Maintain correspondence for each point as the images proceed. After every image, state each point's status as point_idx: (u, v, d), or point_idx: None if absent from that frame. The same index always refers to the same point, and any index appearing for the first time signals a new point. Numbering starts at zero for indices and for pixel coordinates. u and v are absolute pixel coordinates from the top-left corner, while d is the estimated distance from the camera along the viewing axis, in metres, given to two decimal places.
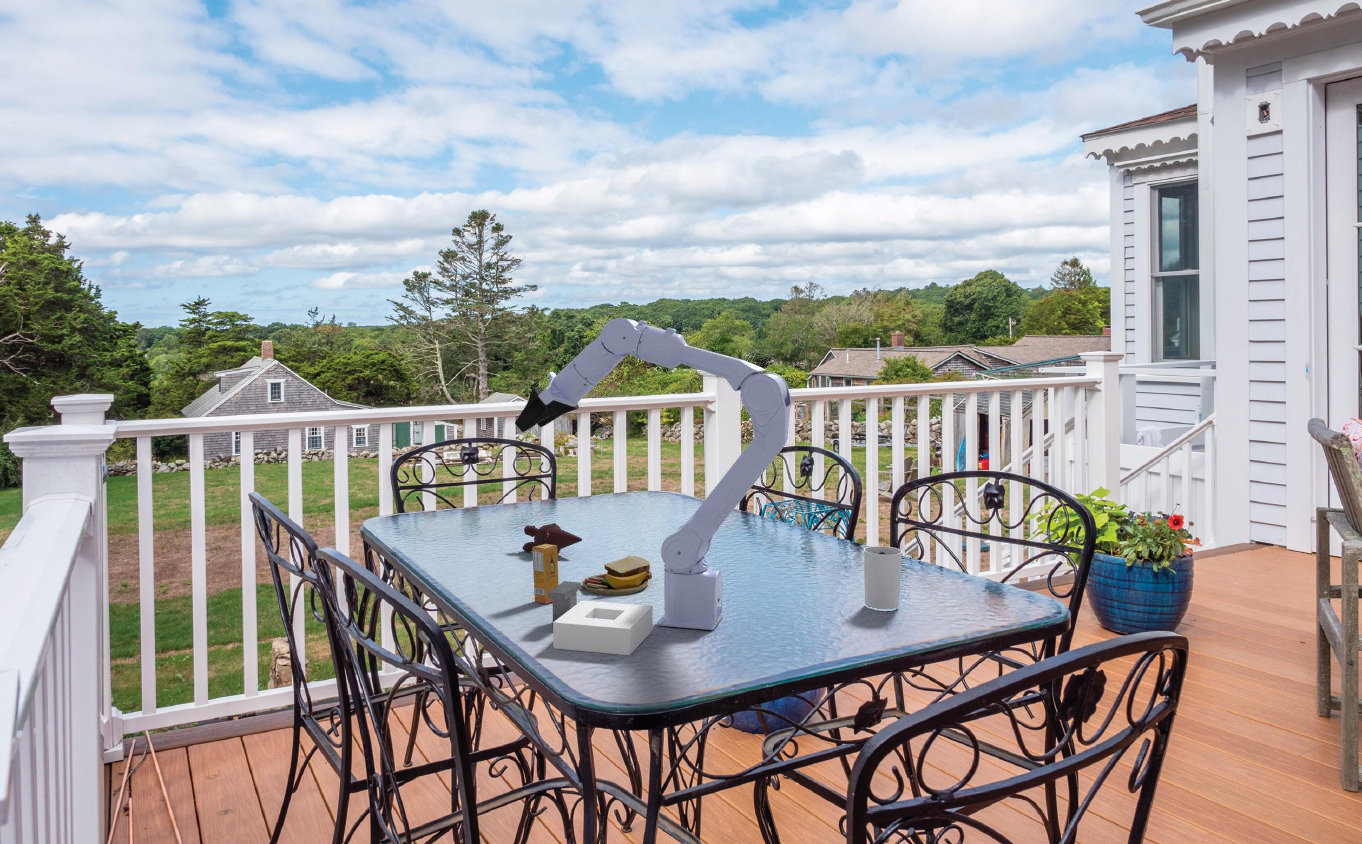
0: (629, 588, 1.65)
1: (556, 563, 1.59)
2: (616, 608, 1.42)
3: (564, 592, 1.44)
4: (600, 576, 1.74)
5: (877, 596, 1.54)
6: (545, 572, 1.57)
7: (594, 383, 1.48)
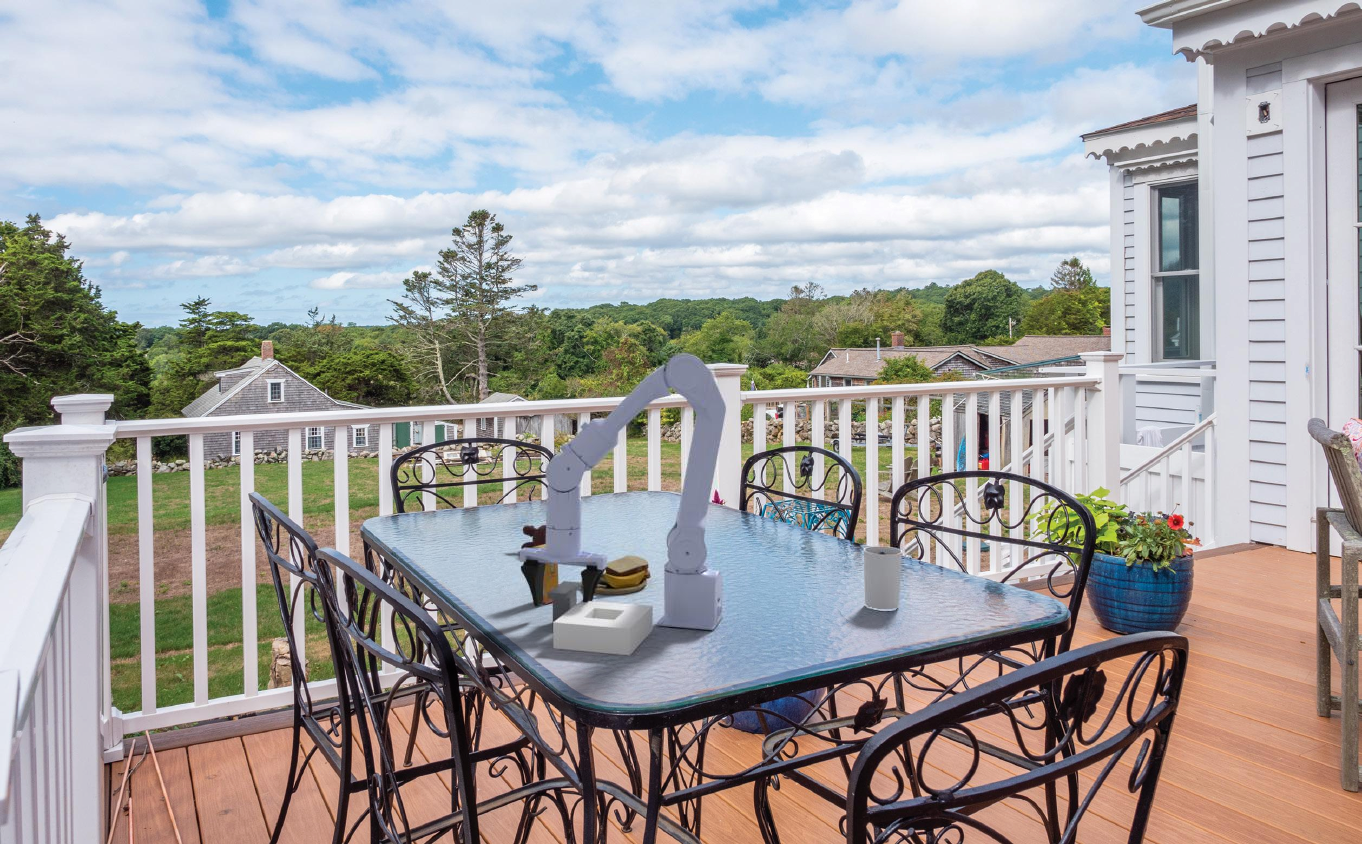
0: (628, 587, 1.65)
1: None
2: (616, 608, 1.42)
3: (564, 592, 1.44)
4: None
5: (877, 597, 1.54)
6: (545, 572, 1.57)
7: (579, 525, 1.45)
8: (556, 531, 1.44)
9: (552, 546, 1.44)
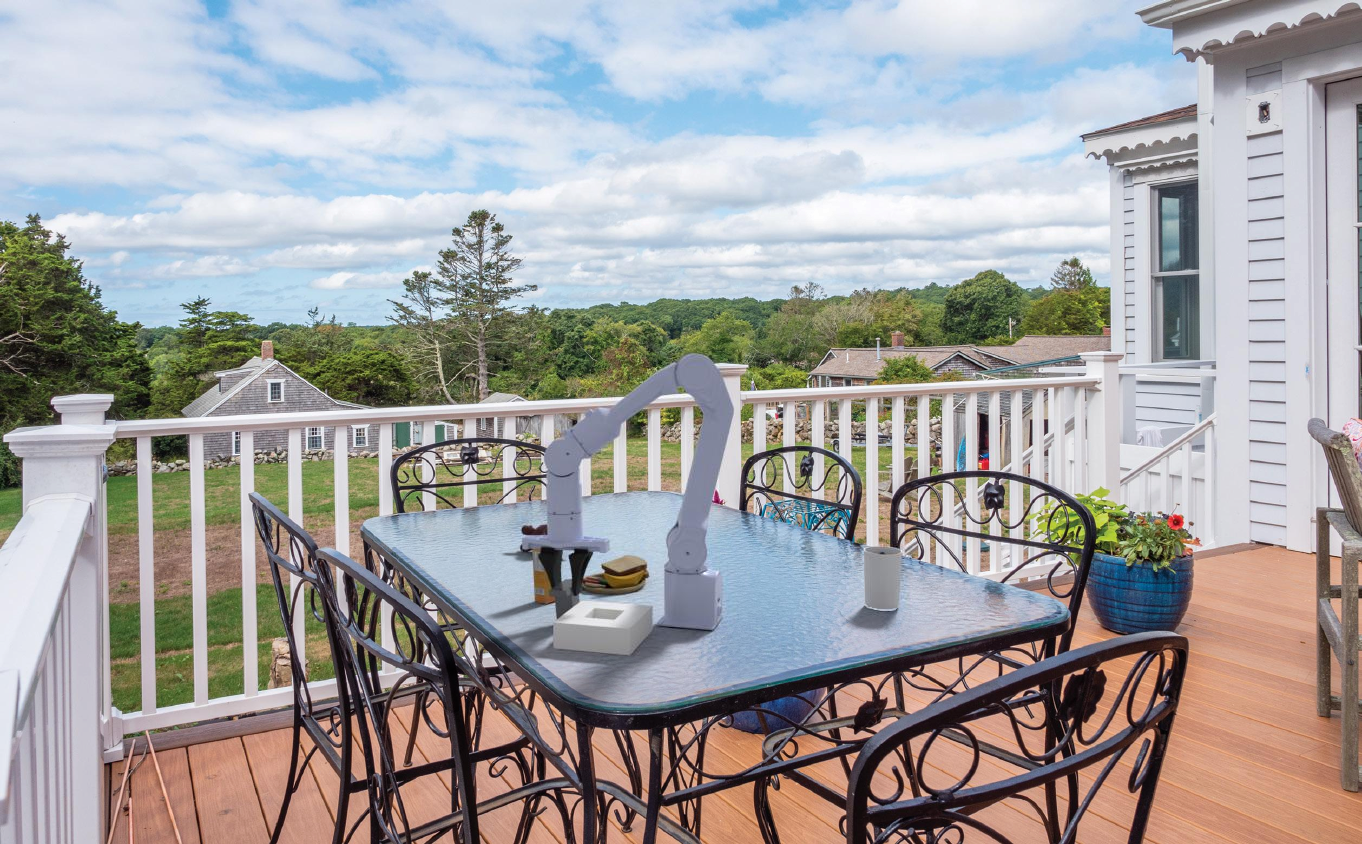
0: (627, 587, 1.65)
1: None
2: (616, 608, 1.42)
3: (565, 589, 1.43)
4: (597, 576, 1.74)
5: (877, 596, 1.54)
6: (545, 572, 1.57)
7: (580, 509, 1.45)
8: (557, 516, 1.43)
9: (553, 532, 1.44)
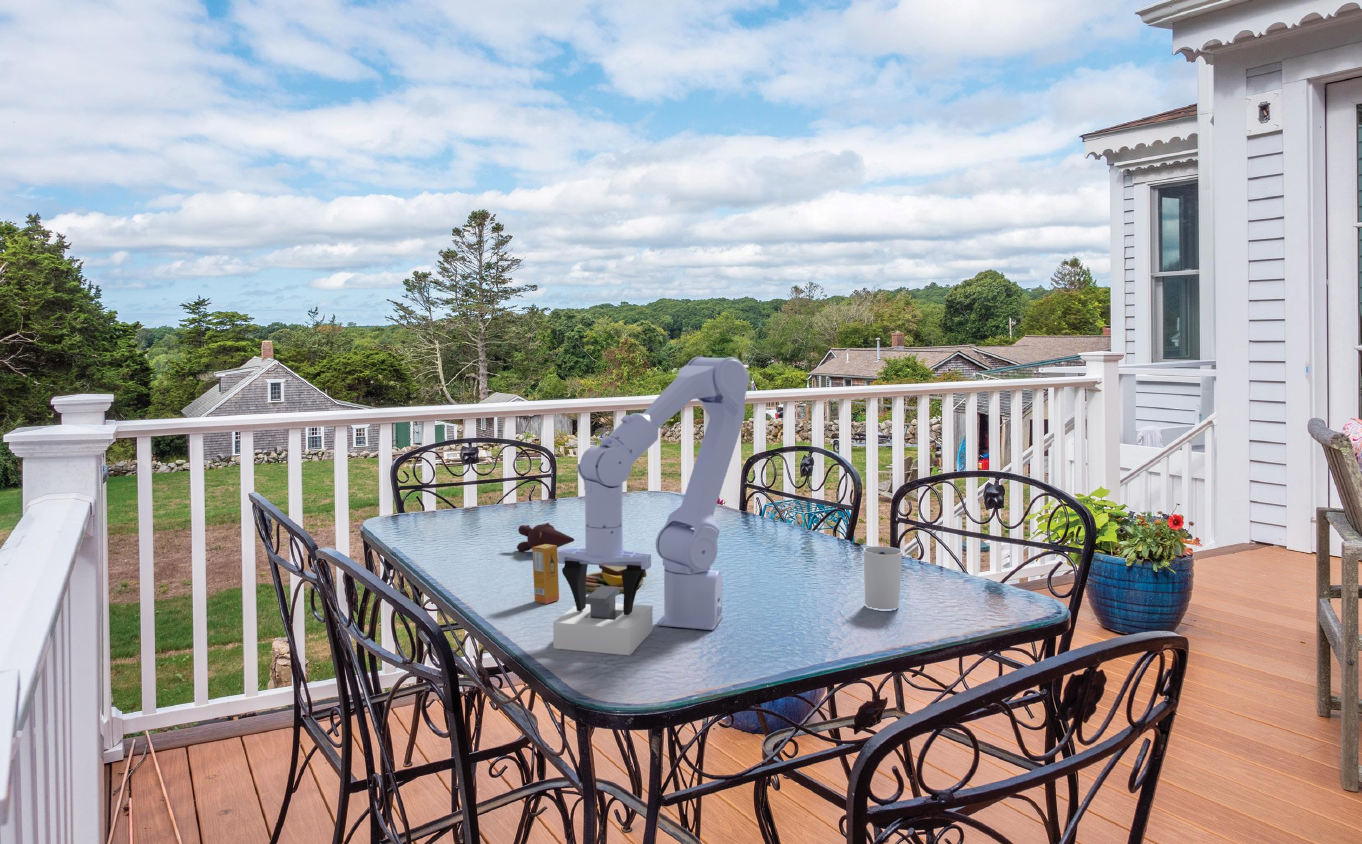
0: None
1: (556, 563, 1.59)
2: (616, 608, 1.42)
3: (603, 597, 1.35)
4: (594, 575, 1.75)
5: (877, 596, 1.54)
6: (545, 572, 1.57)
7: None
8: (597, 530, 1.35)
9: (592, 546, 1.35)
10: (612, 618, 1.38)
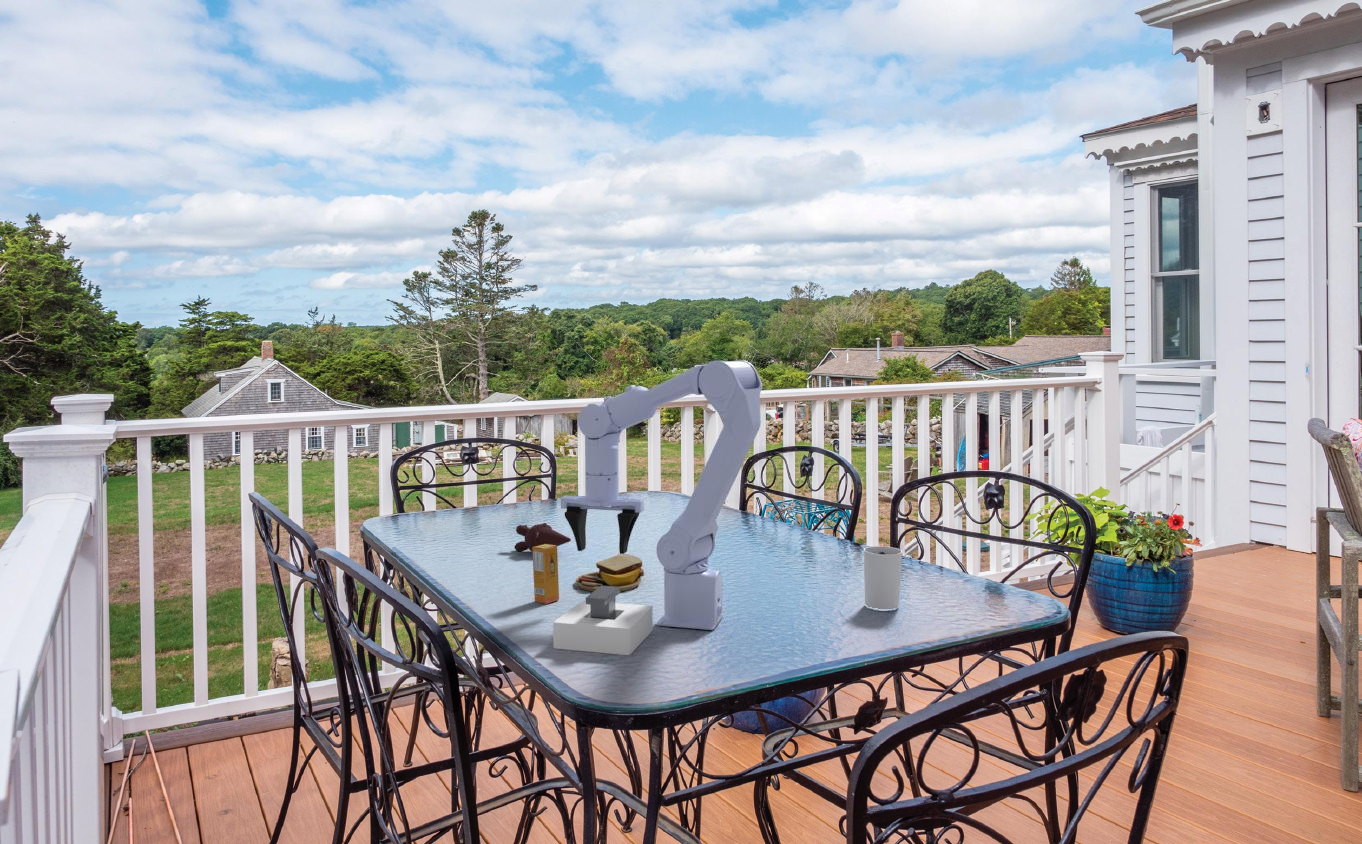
0: (624, 585, 1.66)
1: (556, 563, 1.59)
2: (616, 608, 1.42)
3: (603, 597, 1.35)
4: (591, 575, 1.75)
5: (877, 596, 1.54)
6: (545, 572, 1.57)
7: (612, 472, 1.52)
8: (595, 477, 1.51)
9: (591, 491, 1.52)
10: (612, 618, 1.38)
